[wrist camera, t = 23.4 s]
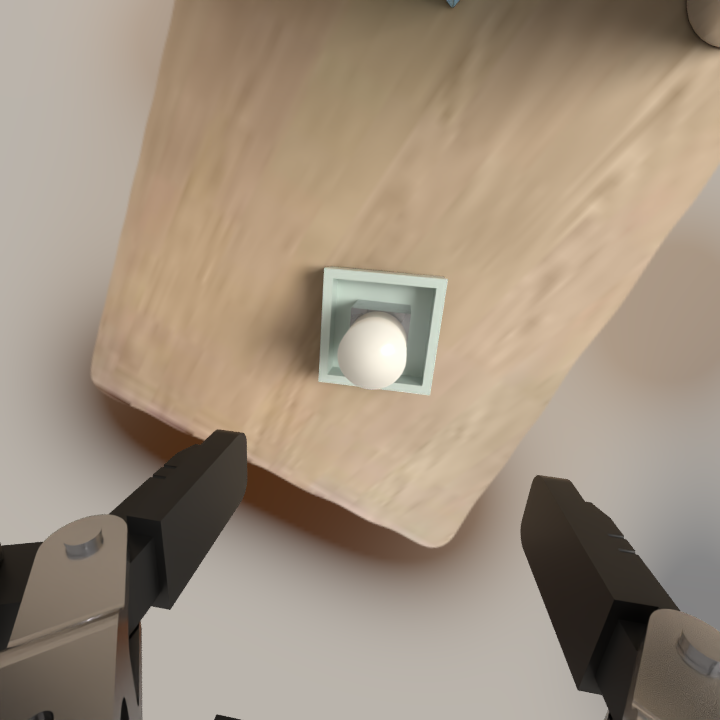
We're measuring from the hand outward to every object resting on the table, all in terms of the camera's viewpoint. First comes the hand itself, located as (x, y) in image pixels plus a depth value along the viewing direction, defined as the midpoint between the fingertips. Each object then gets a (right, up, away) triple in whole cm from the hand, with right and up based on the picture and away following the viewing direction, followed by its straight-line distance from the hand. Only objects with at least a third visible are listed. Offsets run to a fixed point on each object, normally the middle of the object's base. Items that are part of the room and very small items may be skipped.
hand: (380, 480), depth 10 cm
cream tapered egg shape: (+1, +5, +27) cm, 27 cm away
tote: (+2, +7, +33) cm, 34 cm away
